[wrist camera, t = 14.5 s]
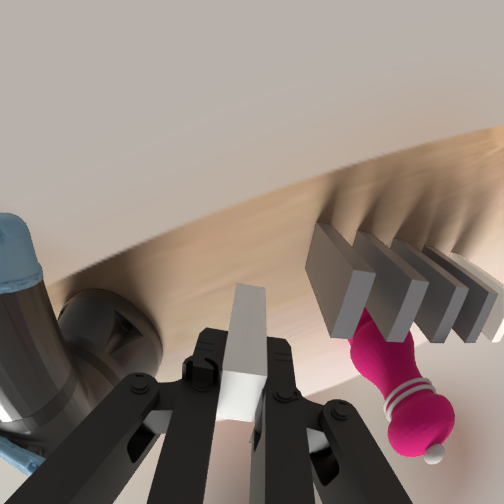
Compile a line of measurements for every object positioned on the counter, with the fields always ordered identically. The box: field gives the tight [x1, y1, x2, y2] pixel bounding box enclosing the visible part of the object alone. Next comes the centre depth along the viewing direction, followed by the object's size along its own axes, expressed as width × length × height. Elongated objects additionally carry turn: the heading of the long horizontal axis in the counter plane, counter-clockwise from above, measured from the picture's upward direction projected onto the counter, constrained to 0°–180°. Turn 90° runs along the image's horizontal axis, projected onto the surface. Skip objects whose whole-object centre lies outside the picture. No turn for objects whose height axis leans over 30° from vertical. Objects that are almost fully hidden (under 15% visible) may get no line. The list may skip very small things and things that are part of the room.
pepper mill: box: [348, 307, 455, 464], centre depth 22 cm, size 7×7×20 cm
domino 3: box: [390, 238, 469, 343], centre depth 23 cm, size 2×5×12 cm, turn 170°
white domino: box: [449, 252, 504, 342], centre depth 23 cm, size 2×5×12 cm, turn 170°
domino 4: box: [422, 245, 498, 343], centre depth 23 cm, size 2×5×12 cm, turn 170°
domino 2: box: [353, 230, 429, 342], centre depth 23 cm, size 2×5×12 cm, turn 170°
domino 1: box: [305, 222, 376, 339], centre depth 23 cm, size 2×5×12 cm, turn 170°
